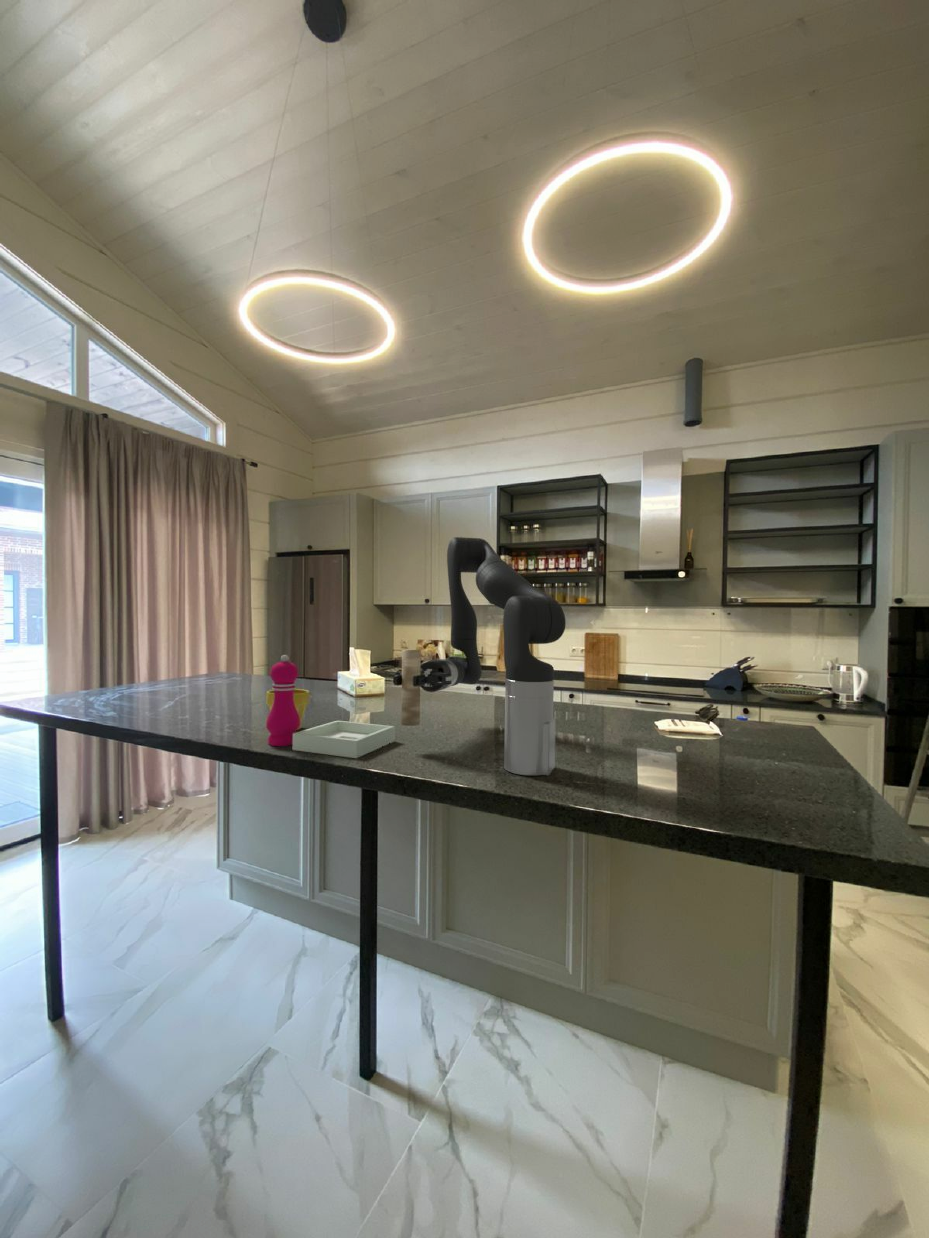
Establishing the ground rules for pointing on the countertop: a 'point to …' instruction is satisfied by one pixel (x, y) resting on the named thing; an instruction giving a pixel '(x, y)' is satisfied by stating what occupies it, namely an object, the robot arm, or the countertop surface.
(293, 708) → the pepper mill
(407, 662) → the peg
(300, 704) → the plant pot
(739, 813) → the countertop surface
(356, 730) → the bin
